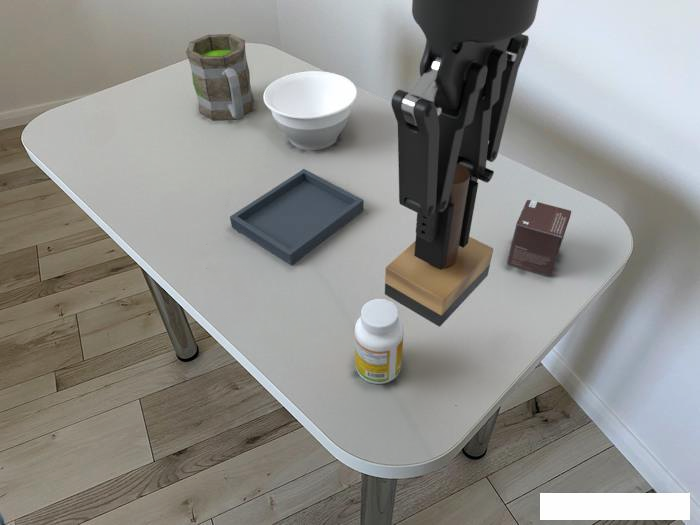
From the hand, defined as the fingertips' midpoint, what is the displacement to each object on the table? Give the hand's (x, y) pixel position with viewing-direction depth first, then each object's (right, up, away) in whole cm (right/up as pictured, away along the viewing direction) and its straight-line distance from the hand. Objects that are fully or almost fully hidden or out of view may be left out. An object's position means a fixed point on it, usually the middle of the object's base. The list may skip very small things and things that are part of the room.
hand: (441, 249), depth 50 cm
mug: (-31, +27, +60) cm, 73 cm away
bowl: (-14, +21, +54) cm, 59 cm away
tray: (-16, +5, +37) cm, 41 cm away
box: (+18, -1, +31) cm, 35 cm away
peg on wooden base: (0, -3, +3) cm, 5 cm away
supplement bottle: (-5, -13, +18) cm, 23 cm away
